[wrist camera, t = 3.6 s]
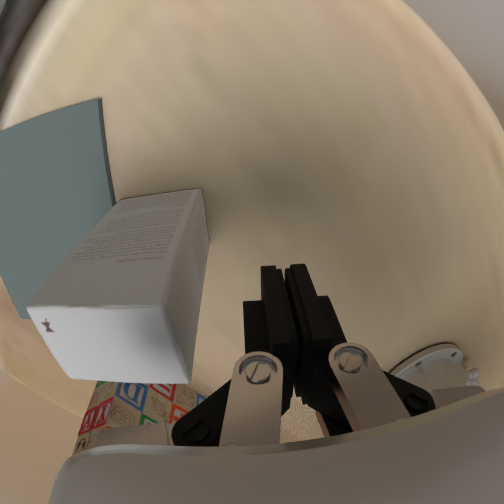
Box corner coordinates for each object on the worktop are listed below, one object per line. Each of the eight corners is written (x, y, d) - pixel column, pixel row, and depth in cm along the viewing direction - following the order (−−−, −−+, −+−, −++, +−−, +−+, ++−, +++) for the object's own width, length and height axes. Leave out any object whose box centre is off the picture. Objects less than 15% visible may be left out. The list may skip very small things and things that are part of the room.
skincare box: (133, 252, 21) (66, 380, 10) (119, 198, 19) (19, 305, 8) (213, 244, 21) (193, 388, 10) (204, 186, 19) (162, 301, 8)
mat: (101, 98, 15) (97, 98, 15) (145, 320, 24) (144, 325, 24) (-30, 147, 15) (-35, 148, 15) (23, 314, 24) (20, 318, 23)
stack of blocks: (266, 428, 34) (273, 511, 23) (231, 441, 36) (232, 517, 25) (130, 345, 26) (96, 459, 15) (100, 367, 28) (68, 463, 17)
